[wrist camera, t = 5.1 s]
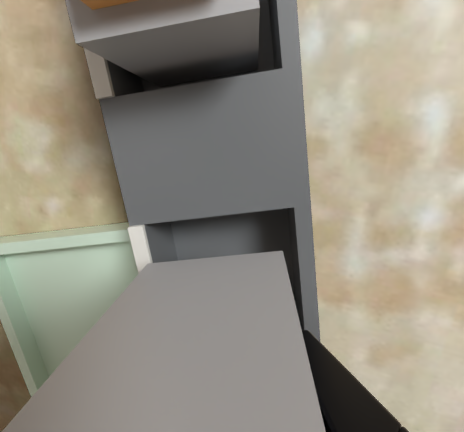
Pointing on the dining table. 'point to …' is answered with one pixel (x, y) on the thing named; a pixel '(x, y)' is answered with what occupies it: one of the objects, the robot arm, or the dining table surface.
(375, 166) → the dining table surface
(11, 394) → the dining table surface
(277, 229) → the grey long block
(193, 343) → the plug
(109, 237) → the tray
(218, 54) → the twin plug
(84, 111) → the dining table surface
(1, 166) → the dining table surface
